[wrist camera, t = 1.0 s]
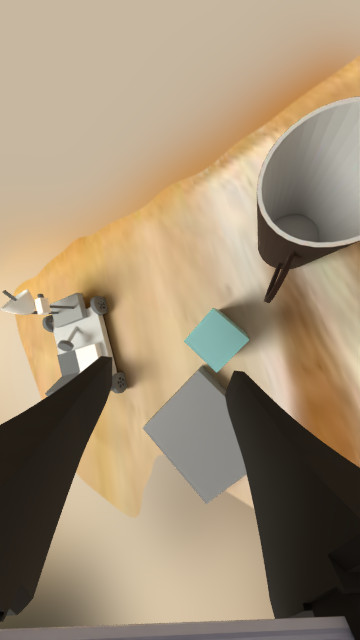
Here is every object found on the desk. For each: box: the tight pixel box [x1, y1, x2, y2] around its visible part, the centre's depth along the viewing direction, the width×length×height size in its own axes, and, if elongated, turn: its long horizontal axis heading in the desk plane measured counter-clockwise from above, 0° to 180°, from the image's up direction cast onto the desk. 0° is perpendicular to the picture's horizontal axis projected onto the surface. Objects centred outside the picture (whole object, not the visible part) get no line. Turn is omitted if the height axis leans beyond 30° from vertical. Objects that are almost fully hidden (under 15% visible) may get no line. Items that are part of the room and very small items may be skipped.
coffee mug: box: [257, 97, 360, 303], centre depth 16 cm, size 12×9×10 cm
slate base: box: [143, 366, 247, 504], centre depth 23 cm, size 12×12×2 cm
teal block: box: [184, 308, 249, 372], centre depth 20 cm, size 4×4×6 cm
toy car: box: [0, 289, 127, 396], centre depth 25 cm, size 18×10×12 cm
